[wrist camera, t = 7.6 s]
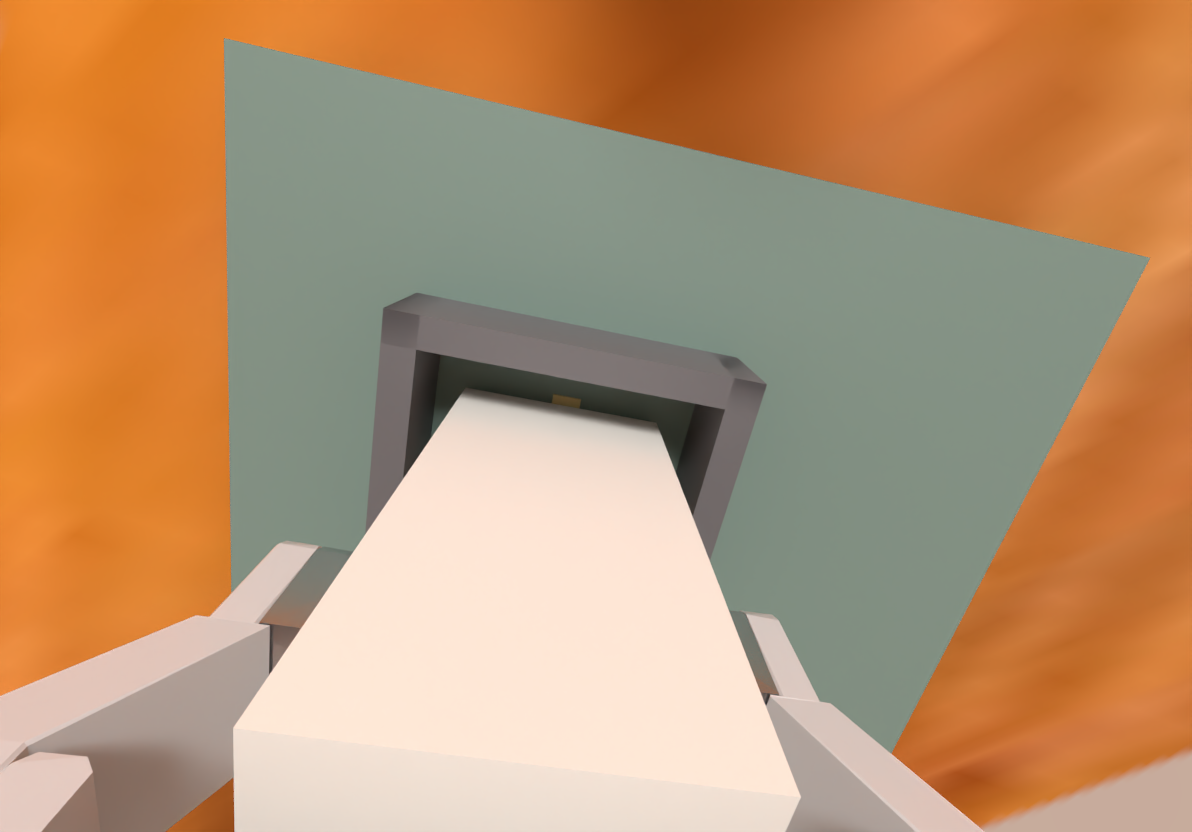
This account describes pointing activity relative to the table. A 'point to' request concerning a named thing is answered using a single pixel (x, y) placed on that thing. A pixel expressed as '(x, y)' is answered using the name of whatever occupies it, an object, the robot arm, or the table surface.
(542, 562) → the plug
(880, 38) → the table surface
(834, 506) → the board
